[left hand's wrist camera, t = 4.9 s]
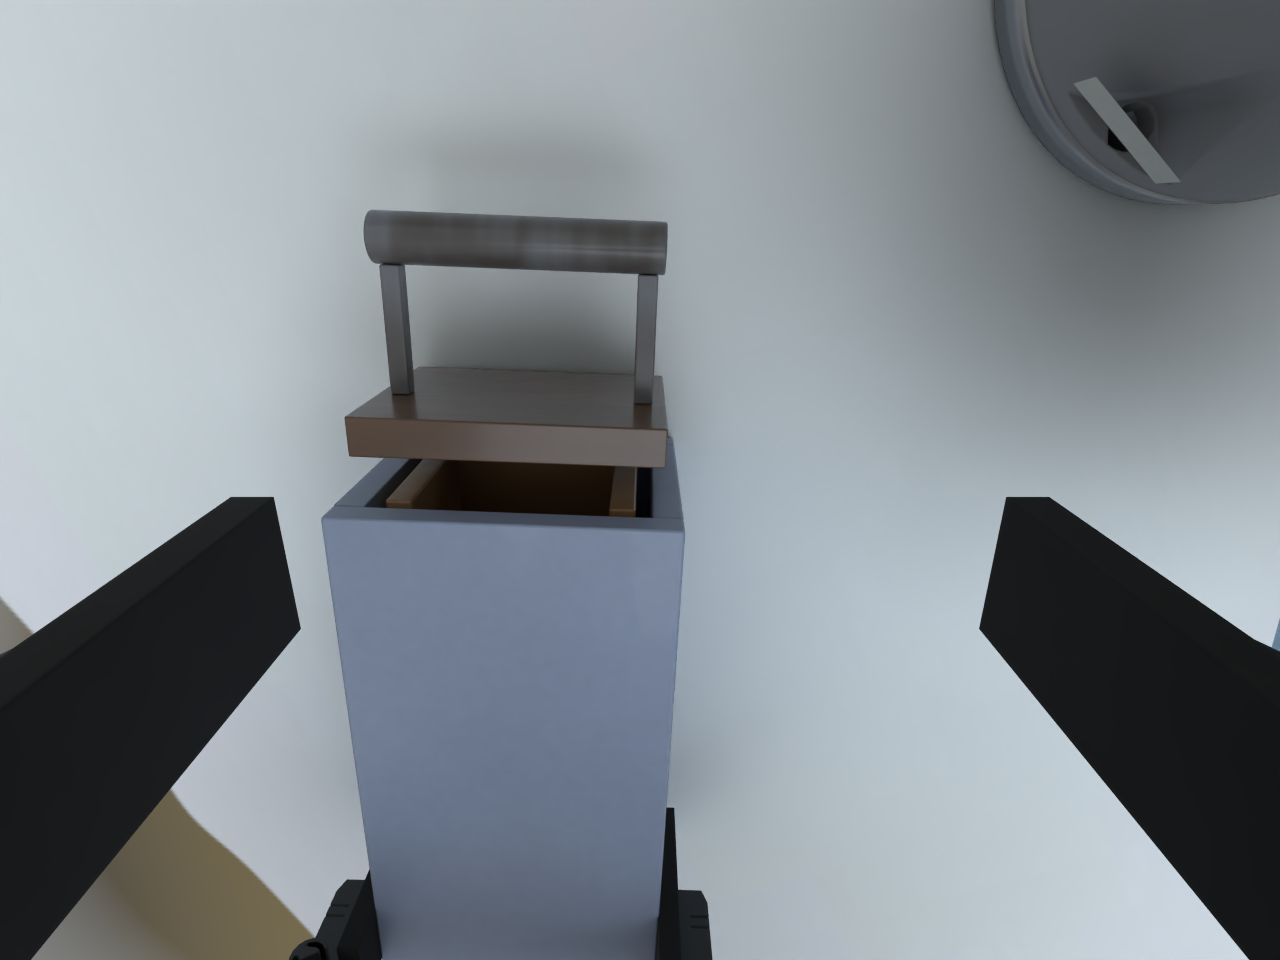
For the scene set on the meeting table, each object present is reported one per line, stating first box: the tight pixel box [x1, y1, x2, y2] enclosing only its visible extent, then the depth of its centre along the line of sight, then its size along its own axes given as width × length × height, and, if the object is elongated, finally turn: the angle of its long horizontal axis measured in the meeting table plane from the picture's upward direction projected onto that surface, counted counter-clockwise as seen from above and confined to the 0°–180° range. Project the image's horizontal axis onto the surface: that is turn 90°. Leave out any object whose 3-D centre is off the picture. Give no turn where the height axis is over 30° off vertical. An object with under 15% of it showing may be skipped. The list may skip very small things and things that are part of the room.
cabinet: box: [321, 438, 685, 960], centre depth 28 cm, size 21×10×9 cm, turn 178°
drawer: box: [345, 210, 668, 517], centre depth 25 cm, size 26×9×7 cm, turn 178°
